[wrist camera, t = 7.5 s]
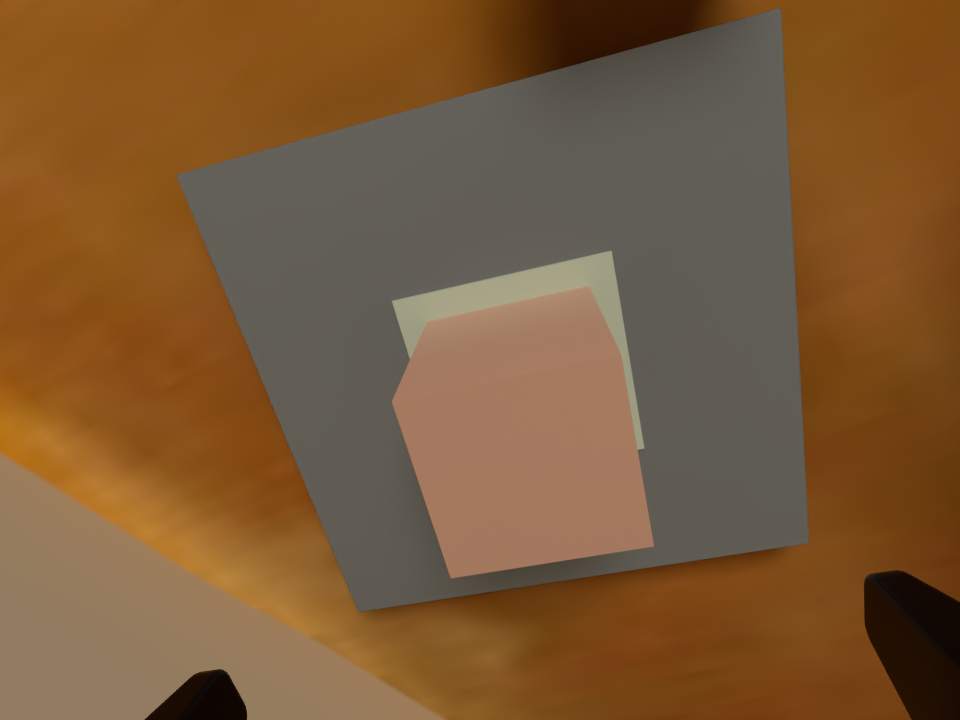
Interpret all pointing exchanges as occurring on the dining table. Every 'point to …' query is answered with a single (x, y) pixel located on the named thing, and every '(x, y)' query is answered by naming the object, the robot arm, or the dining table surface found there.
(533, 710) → the dining table surface
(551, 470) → the terracotta block
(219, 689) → the robot arm
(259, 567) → the dining table surface
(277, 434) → the dining table surface
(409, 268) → the charcoal plate
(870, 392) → the dining table surface
